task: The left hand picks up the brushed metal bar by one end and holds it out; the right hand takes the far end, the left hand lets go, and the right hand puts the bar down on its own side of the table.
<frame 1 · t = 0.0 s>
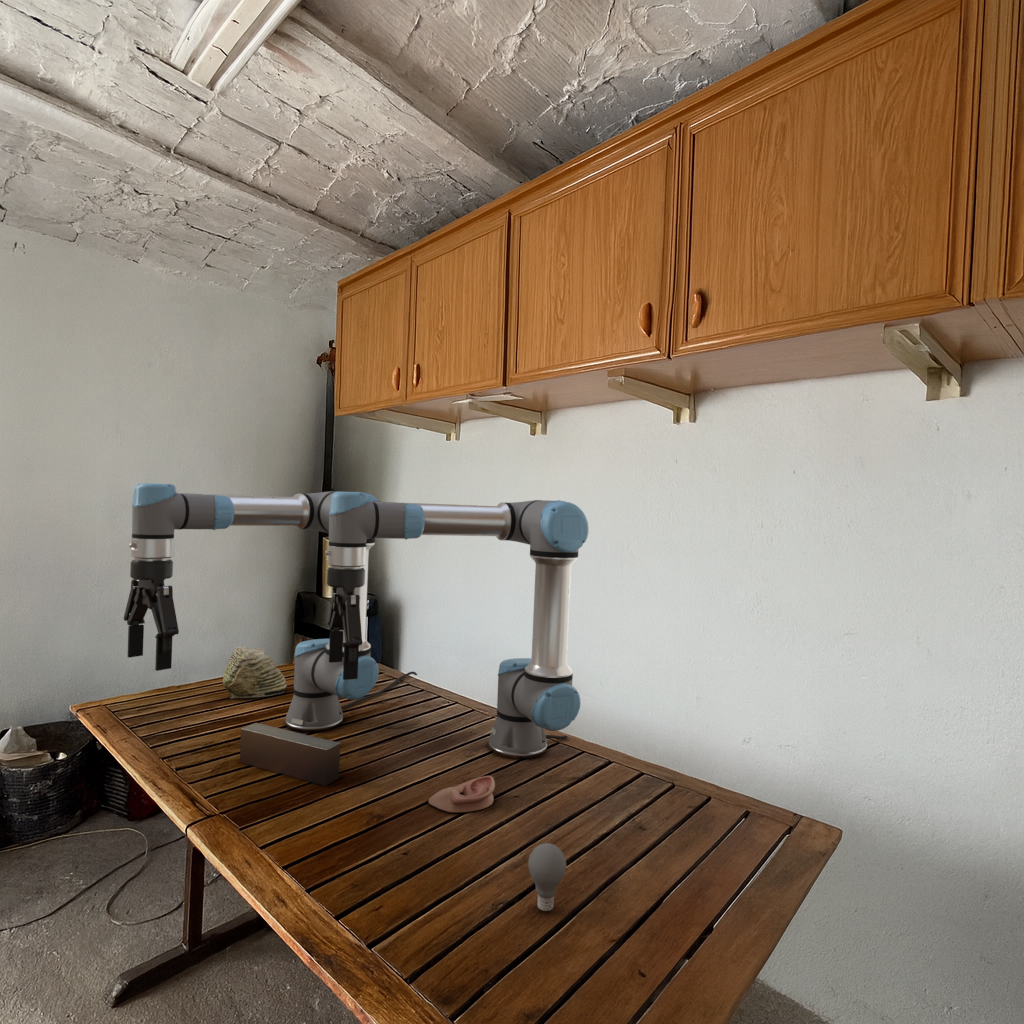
left hand: (148, 662, 129), 28 cm above the table, tool pointing down, fingers open, 13 cm apart
right hand: (342, 670, 130), 28 cm above the table, tool pointing down, fingers open, 13 cm apart
anatomical model: (461, 801, 135), on the table
fossil: (254, 694, 198), on the table
bar: (288, 770, 146), on the table
light bulb: (545, 909, 100), on the table
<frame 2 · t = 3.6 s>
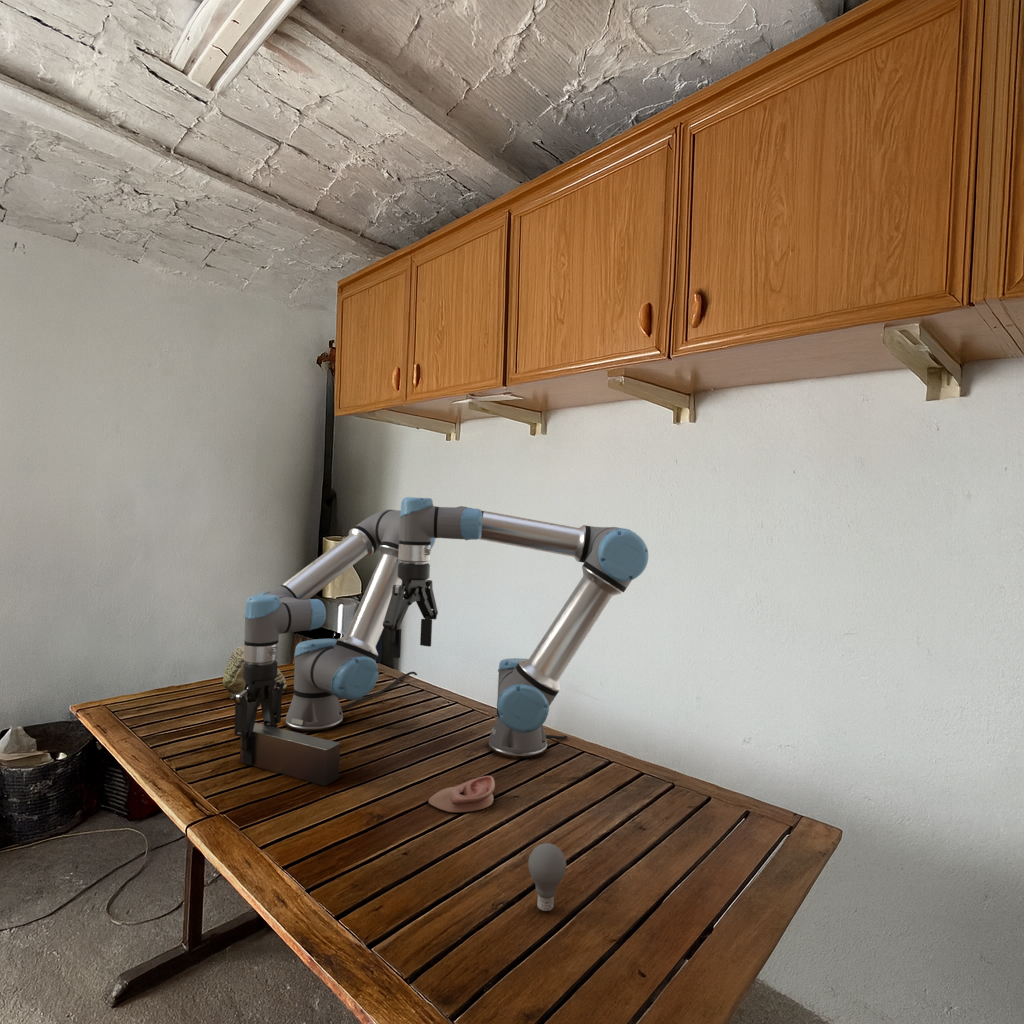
left hand: (257, 759, 150), 1 cm above the table, tool pointing down, fingers closed on bar, 5 cm apart
right hand: (410, 651, 151), 27 cm above the table, tool pointing down, fingers open, 13 cm apart
bar: (288, 770, 146), on the table, touching left hand
everything else where it was.
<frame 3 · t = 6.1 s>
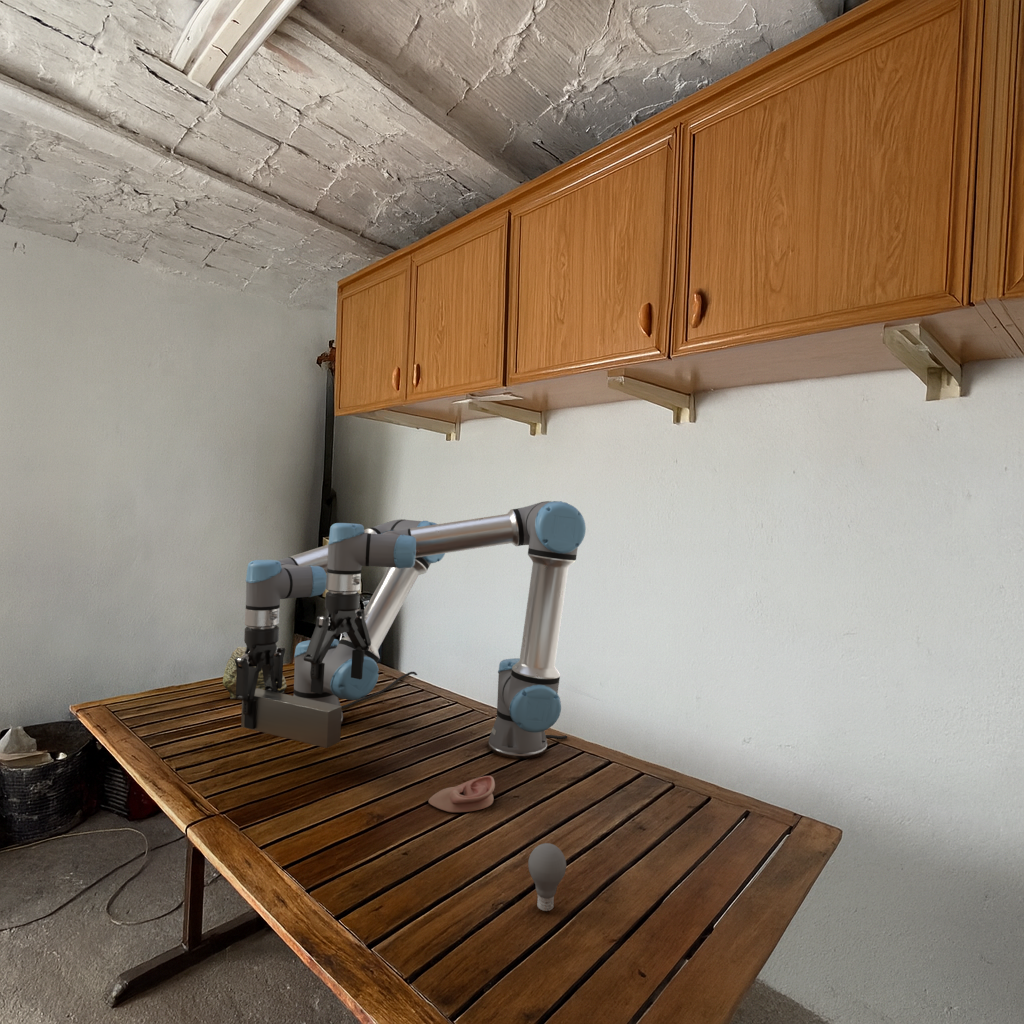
left hand: (258, 723, 150), 9 cm above the table, tool pointing down, fingers closed on bar, 5 cm apart
right hand: (337, 685, 143), 21 cm above the table, tool pointing down, fingers open, 13 cm apart
bar: (289, 734, 146), point 8 cm above the table, touching left hand
everything else where it was.
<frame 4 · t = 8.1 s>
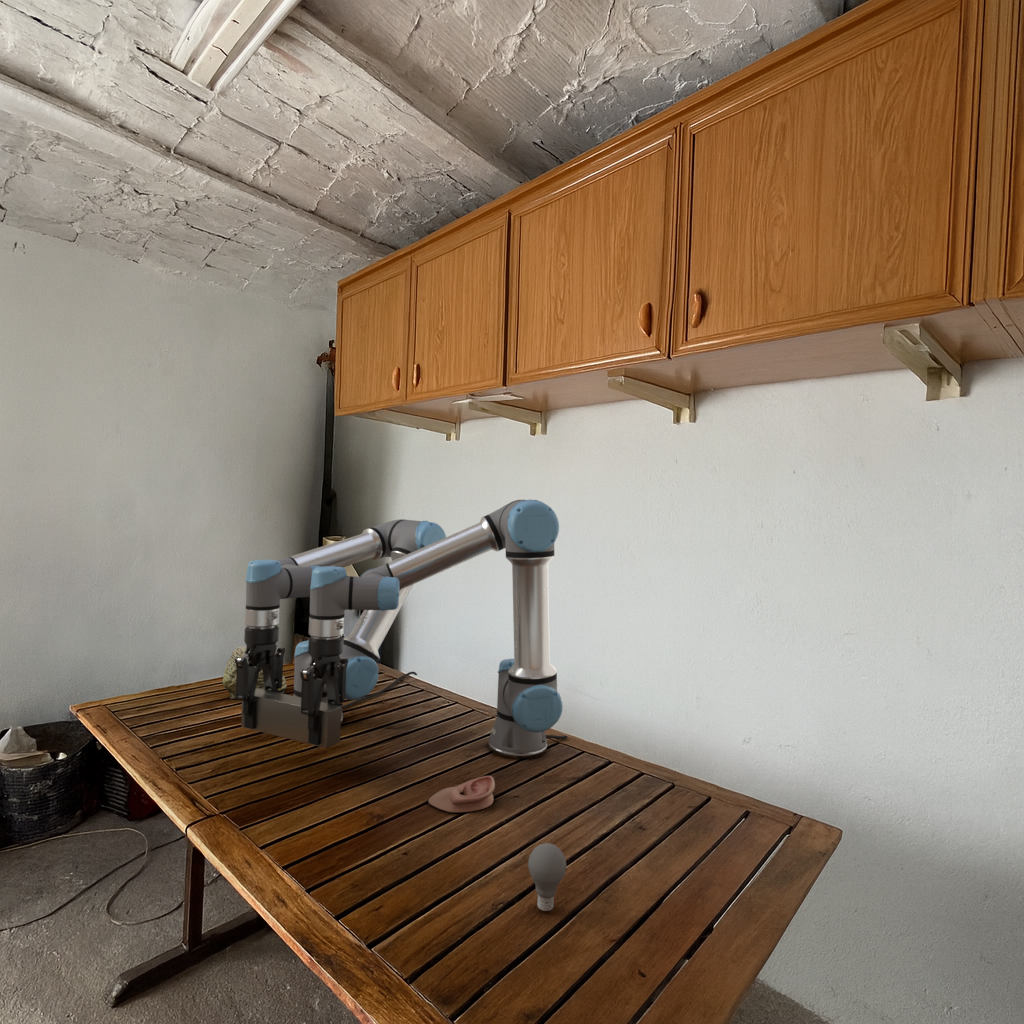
left hand: (258, 723, 150), 9 cm above the table, tool pointing down, fingers closed on bar, 5 cm apart
right hand: (322, 739, 142), 9 cm above the table, tool pointing down, fingers closed on bar, 5 cm apart
bar: (289, 734, 146), point 8 cm above the table, touching left hand, right hand
everything else where it was.
when the left hand's fingers open (9 cm above the table, at t = 8.8 s): bar stays where it is, held by the right hand.
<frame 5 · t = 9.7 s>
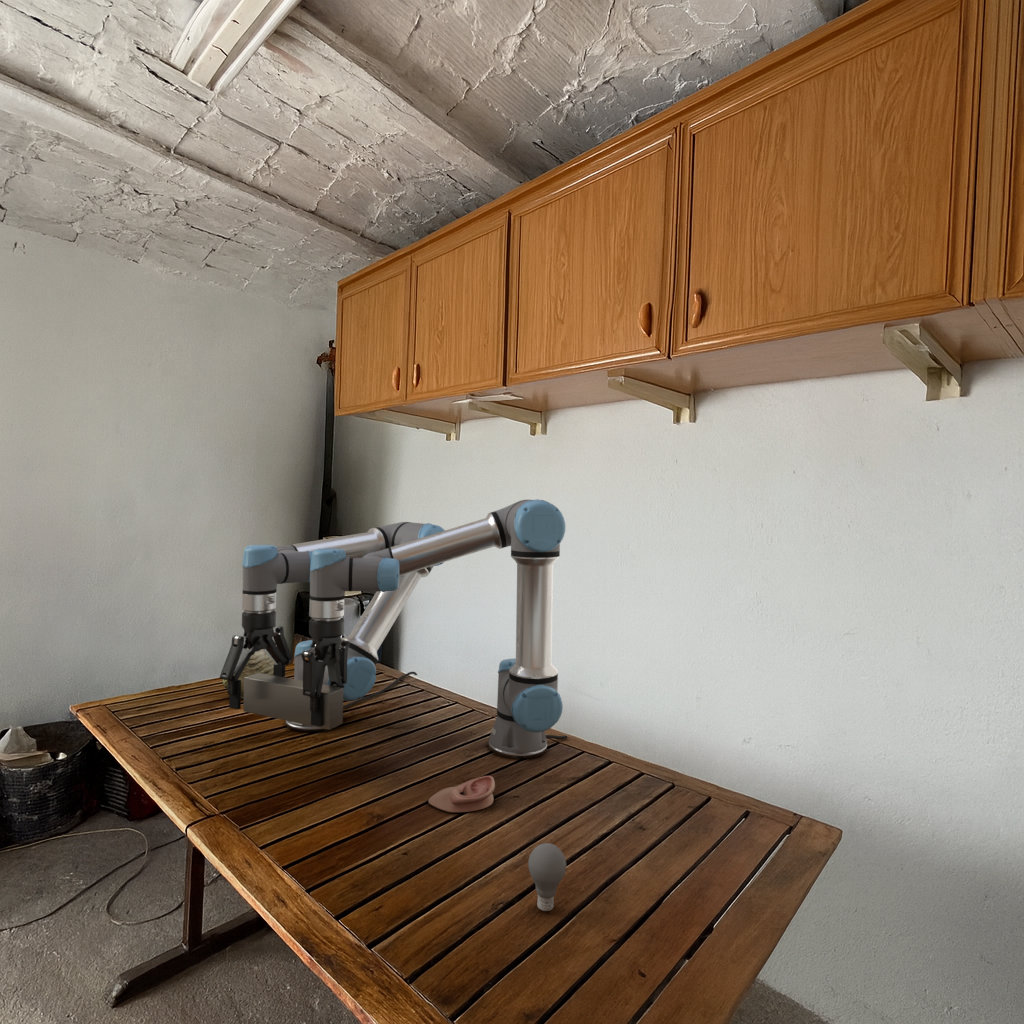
left hand: (257, 699, 150), 14 cm above the table, tool pointing down, fingers open, 13 cm apart
right hand: (324, 721, 142), 13 cm above the table, tool pointing down, fingers closed on bar, 5 cm apart
bar: (291, 717, 146), point 12 cm above the table, touching right hand
everything else where it was.
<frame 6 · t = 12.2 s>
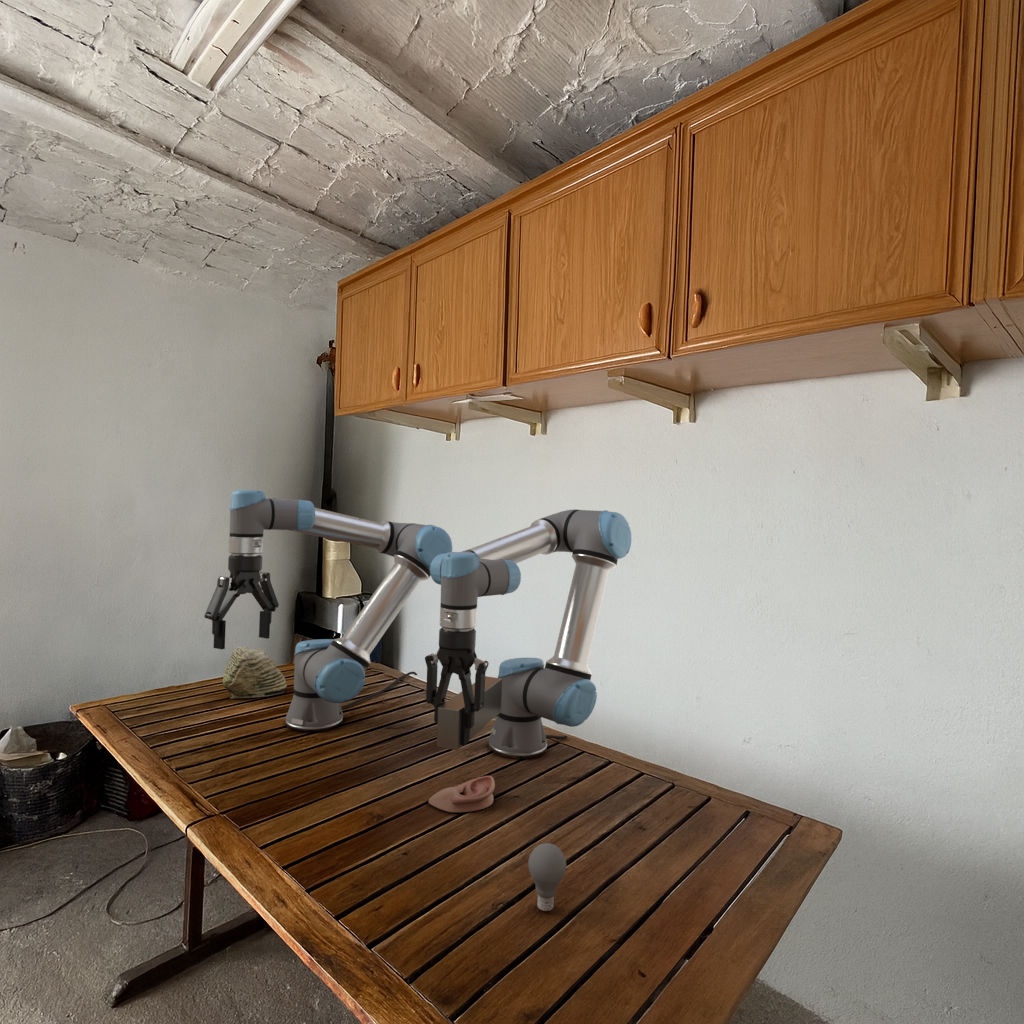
left hand: (242, 643, 152), 27 cm above the table, tool pointing down, fingers open, 13 cm apart
right hand: (453, 740, 130), 15 cm above the table, tool pointing down, fingers closed on bar, 5 cm apart
bar: (471, 728, 139), point 14 cm above the table, touching right hand
everything else where it was.
when the right hand's fingers open (2 cm above the table, at t = 16.3 s): bar drops 1 cm, on the table.
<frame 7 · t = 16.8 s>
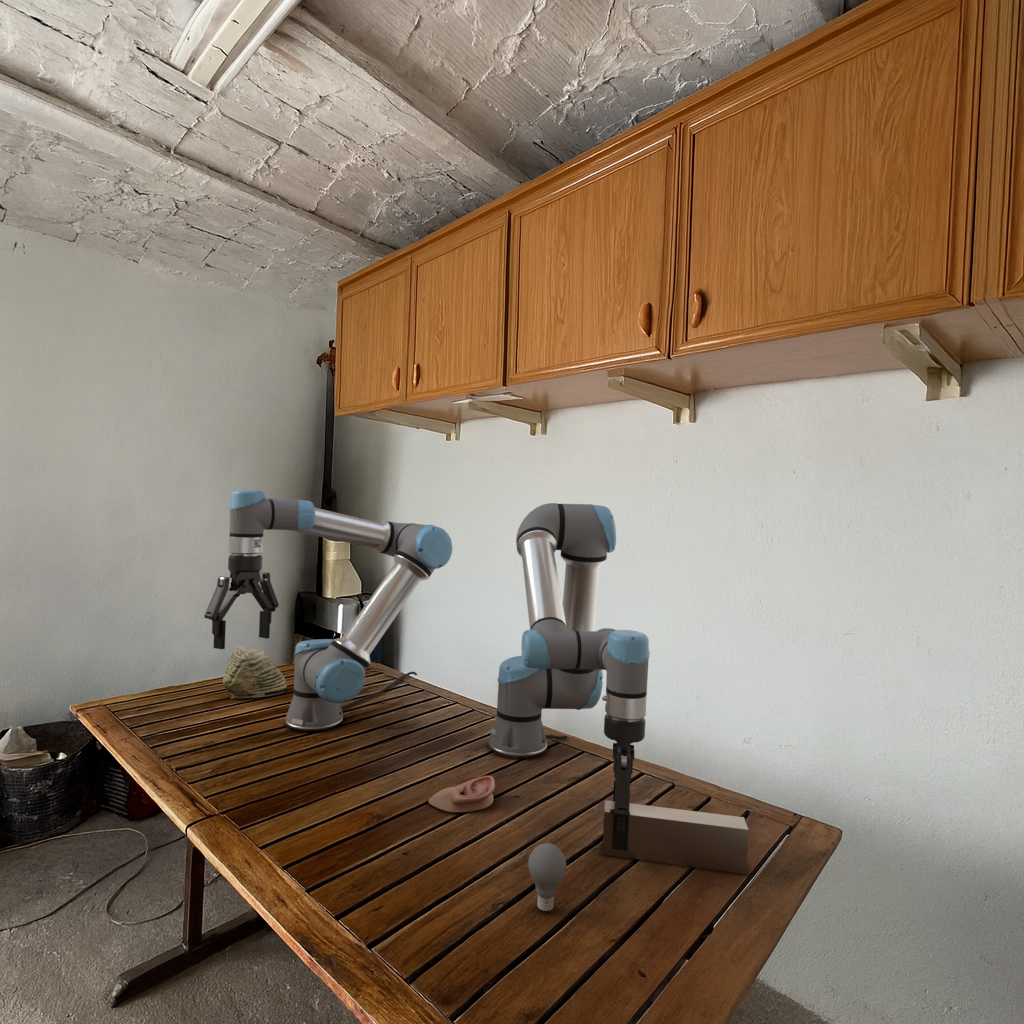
left hand: (242, 643, 152), 27 cm above the table, tool pointing down, fingers open, 13 cm apart
right hand: (619, 831, 118), 4 cm above the table, tool pointing down, fingers open, 12 cm apart
bar: (671, 857, 116), on the table
everything else where it was.
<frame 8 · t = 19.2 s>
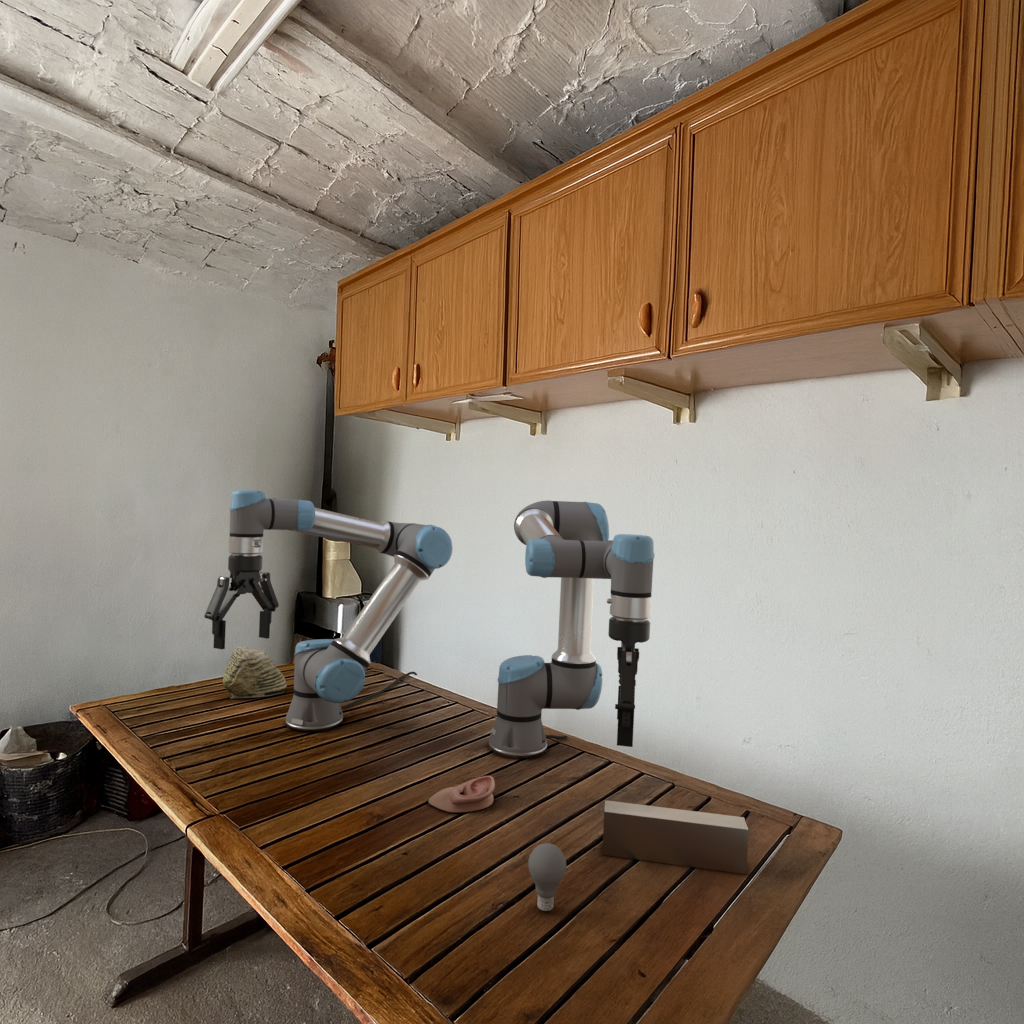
left hand: (242, 643, 152), 27 cm above the table, tool pointing down, fingers open, 13 cm apart
right hand: (624, 732, 118), 22 cm above the table, tool pointing down, fingers open, 13 cm apart
nothing on the table moved.
at the end: bar inside the target area (9.7 cm from its centre), on the table; the left hand is holding nothing; the right hand is holding nothing; bar at rest at the end (0.0 cm/s) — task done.
